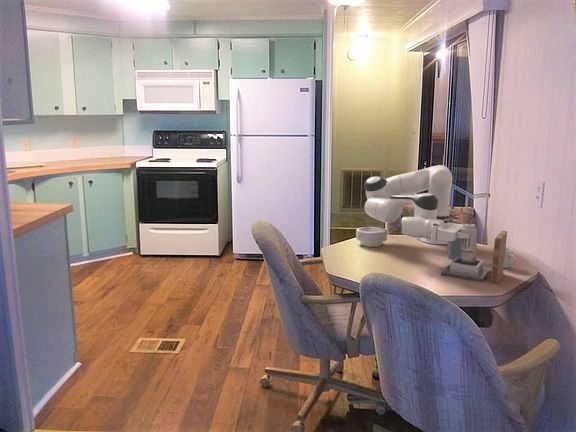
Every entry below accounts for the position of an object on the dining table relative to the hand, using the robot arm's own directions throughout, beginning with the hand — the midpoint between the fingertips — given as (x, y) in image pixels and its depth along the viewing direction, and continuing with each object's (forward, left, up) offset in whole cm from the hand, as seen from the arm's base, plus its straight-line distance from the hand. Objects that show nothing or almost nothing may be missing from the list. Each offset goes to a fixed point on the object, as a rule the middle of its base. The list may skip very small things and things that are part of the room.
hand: (471, 234), depth 210 cm
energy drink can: (0, 0, -11) cm, 11 cm away
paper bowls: (-22, -52, -17) cm, 59 cm away
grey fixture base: (0, -1, -17) cm, 17 cm away
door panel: (0, +11, -17) cm, 20 cm away
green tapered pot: (-22, -10, -17) cm, 30 cm away
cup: (-18, +11, -17) cm, 27 cm away
